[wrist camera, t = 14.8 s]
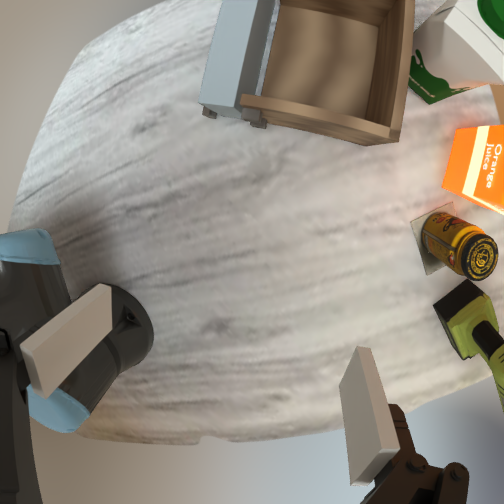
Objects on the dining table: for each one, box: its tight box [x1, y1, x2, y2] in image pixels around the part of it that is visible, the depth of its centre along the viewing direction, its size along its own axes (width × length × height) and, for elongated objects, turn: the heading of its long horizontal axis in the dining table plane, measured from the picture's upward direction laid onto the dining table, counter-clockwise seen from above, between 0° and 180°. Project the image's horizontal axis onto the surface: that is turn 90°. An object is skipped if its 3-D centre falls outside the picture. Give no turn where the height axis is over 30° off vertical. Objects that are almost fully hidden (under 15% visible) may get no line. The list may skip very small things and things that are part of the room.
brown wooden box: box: [202, 0, 415, 146], centre depth 28 cm, size 20×20×13 cm
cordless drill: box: [433, 279, 504, 412], centre depth 29 cm, size 23×7×25 cm, turn 39°
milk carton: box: [408, 0, 504, 105], centre depth 22 cm, size 9×9×20 cm
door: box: [198, 0, 275, 119], centre depth 29 cm, size 5×18×11 cm, turn 169°
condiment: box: [411, 202, 498, 281], centre depth 32 cm, size 7×8×12 cm
